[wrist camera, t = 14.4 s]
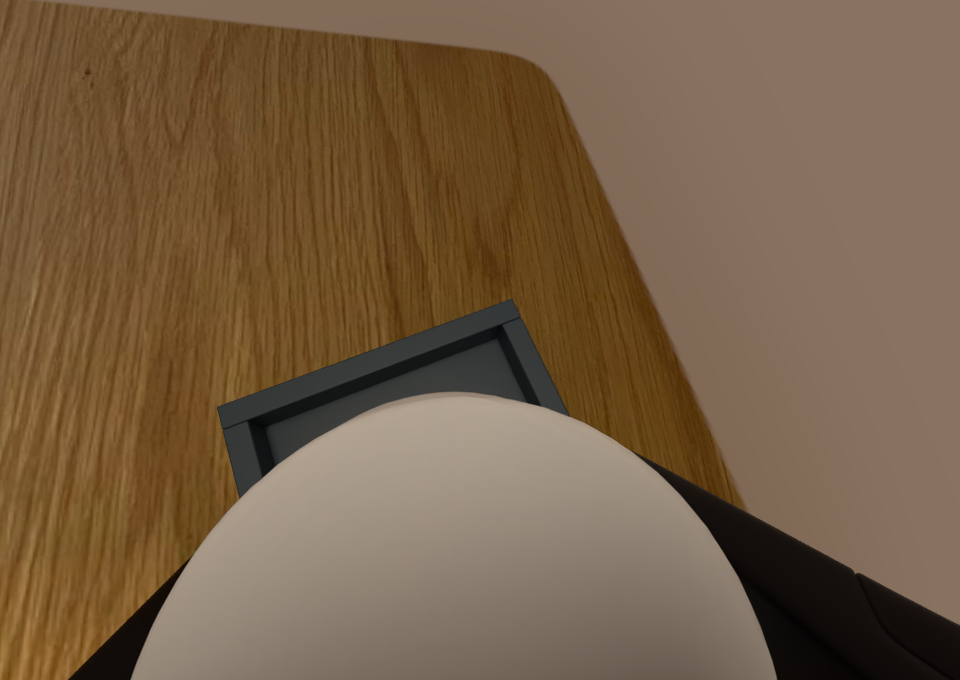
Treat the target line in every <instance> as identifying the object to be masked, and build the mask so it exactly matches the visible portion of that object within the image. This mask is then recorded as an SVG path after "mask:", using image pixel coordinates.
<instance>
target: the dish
mask: <svg viewBox="0 0 960 680" xmlns="http://www.w3.org/2000/svg"><path fill="white" fill-rule="evenodd" d="M520 317H521V316H520V314H519V312H518V310H517V308H516V306H515V304H514V302H513V300H512V299H510V300H507V301H505V302H502V303H499V304H496V305H494V306H491V307H488V308H485V309H483V310H480V311H477V312H475V313H472V314H469V315H466V316H464V317H461V318H458V319H455V320H453V321H450V322H447V323H445V324H442V325H439V326H436V327H434V328H431V329H428V330H425V331H423V332H420V333H417V334H415V335H412V336H409V337H406V338H404V339H401V340H398V341H396V342H393V343H390V344H387V345H385V346H382V347H379V348H376V349H374V350H371V351H368V352H366V353H363V354H360V355H357V356H355V357H352V358H349V359H346V360H344V361H341V362H338V363H336V364H333V365H330V366H327V367H325V368H322V369H319V370H316V371H314V372H311V373H308V374H306V375H303V376H300V377H297V378H295V379H292V380H289V381H287V382H284V383H281V384H278V385H276V386H273V387H270V388H267V389H265V390H262V391H259V392H257V393H254V394H251V395H248V396H246V397H243V398H240V399H237V400H235V401H232V402H229V403H227V404H224V405H221V406H218V407H217V410H218V414H219V418H220V422H221V426H222V429H223V434H224V438H225V442H226V446H227V450H228V454H229V458H230V462H231V466H232V470H233V474H234V478H235V482H236V486H237V490H238V494H239V498H241V497H242V496H243V495H244V494H245V493H246V492H247V491H248V490H249V489H250V488H251V487H252V486H254V485H255V484H256V483H257V482H259V481H260V480H261V479H262V478H263V477H264V476H266V475H267V474H268V473H269V472H270V471H271V470H272V469H273V468H274V467H275V466H277V465H278V464H279V463H281V462H282V461H283V460H285V459H286V458H288V457H289V456H290V455H292V454H293V453H295V452H296V451H297V450H299V449H300V448H302V447H303V446H305V445H306V444H308V443H309V442H311V441H312V440H314V439H315V438H317V437H319V436H321V435H323V434H325V433H327V432H329V431H331V430H333V429H334V428H336V427H338V426H340V425H341V424H343V423H345V422H347V421H348V420H350V419H352V418H354V417H356V416H358V415H360V414H362V413H364V412H366V411H368V410H370V409H373V408H375V407H378V406H380V405H383V404H385V403H388V402H392V401H396V400H400V399H403V398H407V397H412V396H417V395H423V394H428V393H438V392H472V393H479V394H486V395H494V396H498V397H502V398H505V399H512V400H516V401H520V402H524V403H528V404H532V405H536V406H540V407H544V408H547V409H550V410H553V411H555V412H558V413H560V414H563V415H566V416H568V417H570V415H569V413H568V411H567V409H566V407H565V405H564V403H563V401H562V399H561V397H560V395H559V393H558V391H557V389H556V387H555V385H554V383H553V381H552V379H551V377H550V375H549V373H548V371H547V369H546V367H545V365H544V363H543V361H542V359H541V357H540V355H539V353H538V351H537V349H536V347H535V345H534V342H533V340H532V338H531V336H530V334H529V332H528V330H527V328H526V326H525V324H524V322H523V320H522V319H521V318H520Z"/></svg>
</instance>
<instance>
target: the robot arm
mask: <svg viewBox="0 0 960 680" xmlns="http://www.w3.org/2000/svg"><path fill="white" fill-rule="evenodd" d="M631 452H633V451H631ZM633 453H634V454H635V455H636V456H638V457H639V458H640V459H641V460H643V461H644V462H645V463H646V464H648V465H649V466H650V467H651V468H653V469H654V470H655V471H656V472H658V473H659V474H660V475H661V476H662V477H663V478H664V479H665V480H666V481H667V482H668V483H669V484H670V485H671V486H672V487H673V488H674V489H675V490H676V491H677V492H678V493H679V494H680V495H681V496H682V498H683V499H684V500H685V501H686V502H687V504H688V505H689V506H690V507H691V508H692V510H693V511H694V512H695V513H696V515H697V516H698V517H699V518H700V519H701V521H702V522H703V523H704V524H705V525H706V527H707V528H708V530H709V531H710V533H711V534H712V536H713V537H714V539H715V540H716V542H717V543H718V545H719V546H720V548H721V550H722V551H723V553H724V555H725V556H726V558H727V559H728V561H729V563H730V564H731V566H732V568H733V569H734V571H735V572H736V574H737V576H738V578H739V580H740V582H741V584H742V586H743V588H744V591H745V593H746V595H747V597H748V599H749V601H750V603H751V606H752V608H753V610H754V613H755V615H756V617H757V620H758V622H759V624H760V627H761V630H762V633H763V635H764V638H765V641H766V644H767V647H768V650H769V653H770V656H771V659H772V662H773V665H774V669H775V673H776V677H777V680H960V625H959V624H956V623H954V622H952V621H950V620H948V619H946V618H944V617H942V616H941V615H938V614H937V613H935V612H933V611H931V610H929V609H927V608H925V607H923V606H921V605H919V604H917V603H915V602H914V601H911V600H910V599H908V598H905V597H904V596H902V595H900V594H898V593H896V592H894V591H892V590H891V589H889V588H887V587H885V586H883V585H881V584H879V583H877V582H876V581H874V580H872V579H870V578H868V577H866V576H864V575H863V574H860V573H856V574H855V573H854V571H853V570H852V569H851V568H849V567H847V566H845V565H844V564H842V563H840V562H838V561H836V560H834V559H832V558H831V557H829V556H827V555H825V554H823V553H821V552H819V551H818V550H816V549H814V548H812V547H810V546H808V545H806V544H805V543H803V542H801V541H799V540H797V539H795V538H793V537H792V536H790V535H788V534H786V533H784V532H782V531H780V530H779V529H777V528H775V527H773V526H771V525H769V524H767V523H765V522H764V521H762V520H760V519H758V518H756V517H754V516H752V515H751V514H749V513H747V512H745V511H743V510H741V509H739V508H738V507H736V506H734V505H732V504H730V503H728V502H726V501H725V500H723V499H721V498H719V497H717V496H715V495H713V494H712V493H710V492H708V491H706V490H704V489H702V488H700V487H699V486H697V485H695V484H693V483H691V482H689V481H687V480H686V479H684V478H682V477H680V476H678V475H676V474H674V473H673V472H671V471H669V470H667V469H665V468H663V467H661V466H660V465H658V464H656V463H654V462H652V461H650V460H648V459H646V458H645V457H643V456H641V455H639V454H637V453H635V452H633ZM194 554H195V553H194ZM194 554H193V555H194ZM193 555H192V556H193ZM192 556H191V557H190V558H189V559H188V560H187V561H186V562H185V563H184V564H183V565H182V566H181V567H180V568H179V569H178V570H177V571H176V572H175V573H174V574H173V575H172V576H171V577H170V578H169V579H168V580H167V581H166V582H165V583H164V584H163V585H162V586H161V587H160V588H159V589H158V590H157V591H156V592H155V593H154V594H153V595H152V596H151V597H150V598H149V599H148V600H147V601H146V602H145V603H144V604H143V605H142V606H141V607H140V608H139V609H138V610H137V611H136V612H135V613H134V614H133V615H132V616H131V617H130V618H129V619H128V620H127V621H126V622H125V623H124V624H123V625H122V626H121V627H120V628H119V629H118V630H117V631H116V632H115V633H114V634H113V635H112V636H111V637H110V638H109V639H108V640H107V641H106V642H105V643H104V644H103V645H102V646H101V647H100V648H99V649H98V650H97V651H96V652H95V653H94V654H93V655H92V656H91V657H90V658H89V659H88V660H87V661H86V662H85V663H84V664H83V665H82V666H81V667H80V668H79V669H78V670H77V671H76V672H75V673H74V674H73V675H72V676H71V677H70V678H69V679H68V680H131V678H132V675H133V672H134V669H135V666H136V663H137V661H138V659H139V656H140V654H141V651H142V649H143V647H144V644H145V642H146V639H147V637H148V635H149V632H150V630H151V628H152V626H153V624H154V622H155V620H156V618H157V616H158V613H159V612H160V610H161V608H162V606H163V604H164V603H165V601H166V599H167V597H168V595H169V594H170V592H171V590H172V588H173V587H174V585H175V583H176V581H177V580H178V578H179V577H180V575H181V574H182V572H183V570H184V569H185V567H186V566H187V564H188V563H189V561H190V559H191V558H192Z"/></svg>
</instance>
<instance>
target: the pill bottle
mask: <svg viewBox="0 0 960 680" xmlns="http://www.w3.org/2000/svg"><path fill="white" fill-rule="evenodd" d="M131 680H777V677H776V673H775V669H774V665H773V662H772V659H771V656H770V653H769V650H768V647H767V644H766V641H765V638H764V635H763V633H762V630H761V627H760V624H759V622H758V620H757V617H756V615H755V613H754V610H753V608H752V606H751V603H750V601H749V599H748V597H747V595H746V593H745V591H744V588H743V586H742V584H741V582H740V580H739V578H738V576H737V574H736V572H735V571H734V569H733V568H732V566H731V564H730V563H729V561H728V559H727V558H726V556H725V555H724V553H723V551H722V550H721V548H720V546H719V545H718V543H717V542H716V540H715V539H714V537H713V536H712V534H711V533H710V531H709V530H708V528H707V527H706V525H705V524H704V523H703V522H702V521H701V519H700V518H699V517H698V516H697V515H696V513H695V512H694V511H693V510H692V508H691V507H690V506H689V505H688V504H687V502H686V501H685V500H684V499H683V498H682V496H681V495H680V494H679V493H678V492H677V491H676V490H675V489H674V488H673V487H672V486H671V485H670V484H669V483H668V482H667V481H666V480H665V479H664V478H663V477H662V476H661V475H660V474H659V473H658V472H656V471H655V470H654V469H653V468H651V467H650V466H649V465H648V464H646V463H645V462H644V461H643V460H641V459H640V458H639V457H638V456H636V455H635V454H634V453H633V452H631V451H630V450H628V449H627V448H625V447H623V446H622V445H620V444H619V443H618V442H616V441H615V440H613V439H612V438H610V437H608V436H606V435H605V434H603V433H601V432H599V431H598V430H596V429H594V428H592V427H591V426H589V425H587V424H585V423H583V422H581V421H578V420H576V419H573V418H571V417H568V416H566V415H563V414H560V413H558V412H555V411H553V410H550V409H547V408H544V407H540V406H536V405H532V404H528V403H524V402H520V401H516V400H512V399H505V398H502V397H498V396H494V395H486V394H479V393H472V392H438V393H428V394H423V395H417V396H412V397H407V398H403V399H400V400H396V401H392V402H388V403H385V404H383V405H380V406H378V407H375V408H373V409H370V410H368V411H366V412H364V413H362V414H360V415H358V416H356V417H354V418H352V419H350V420H348V421H347V422H345V423H343V424H341V425H340V426H338V427H336V428H334V429H333V430H331V431H329V432H327V433H325V434H323V435H321V436H319V437H317V438H315V439H314V440H312V441H311V442H309V443H308V444H306V445H305V446H303V447H302V448H300V449H299V450H297V451H296V452H295V453H293V454H292V455H290V456H289V457H288V458H286V459H285V460H283V461H282V462H281V463H279V464H278V465H277V466H275V467H274V468H273V469H272V470H271V471H270V472H269V473H268V474H267V475H266V476H264V477H263V478H262V479H261V480H260V481H259V482H257V483H256V484H255V485H254V486H252V487H251V488H250V489H249V490H248V491H247V492H246V493H245V494H244V495H243V496H242V497H241V498H240V499H239V500H238V501H237V502H236V503H235V504H234V505H233V506H232V507H231V508H230V509H229V510H228V512H227V513H226V514H225V515H224V516H223V518H222V519H221V520H220V521H219V522H218V523H217V525H216V526H215V527H214V528H213V529H212V531H211V532H210V533H209V534H208V536H207V537H206V538H205V540H204V541H203V543H202V544H201V545H200V547H199V548H198V550H197V551H196V552H195V554H194V555H193V556H192V558H191V559H190V561H189V563H188V564H187V566H186V567H185V569H184V570H183V572H182V574H181V575H180V577H179V578H178V580H177V581H176V583H175V585H174V587H173V588H172V590H171V592H170V594H169V595H168V597H167V599H166V601H165V603H164V604H163V606H162V608H161V610H160V612H159V613H158V616H157V618H156V620H155V622H154V624H153V626H152V628H151V630H150V632H149V635H148V637H147V639H146V642H145V644H144V647H143V649H142V651H141V654H140V656H139V659H138V661H137V663H136V666H135V669H134V672H133V675H132V678H131Z"/></svg>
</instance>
